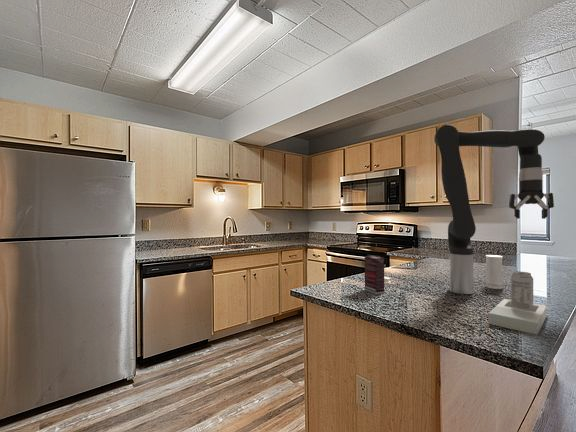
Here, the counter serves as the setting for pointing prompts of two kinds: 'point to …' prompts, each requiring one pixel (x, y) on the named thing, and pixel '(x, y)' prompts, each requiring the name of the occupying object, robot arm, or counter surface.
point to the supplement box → (374, 274)
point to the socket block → (518, 317)
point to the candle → (494, 271)
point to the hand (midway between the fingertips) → (530, 218)
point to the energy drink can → (522, 290)
